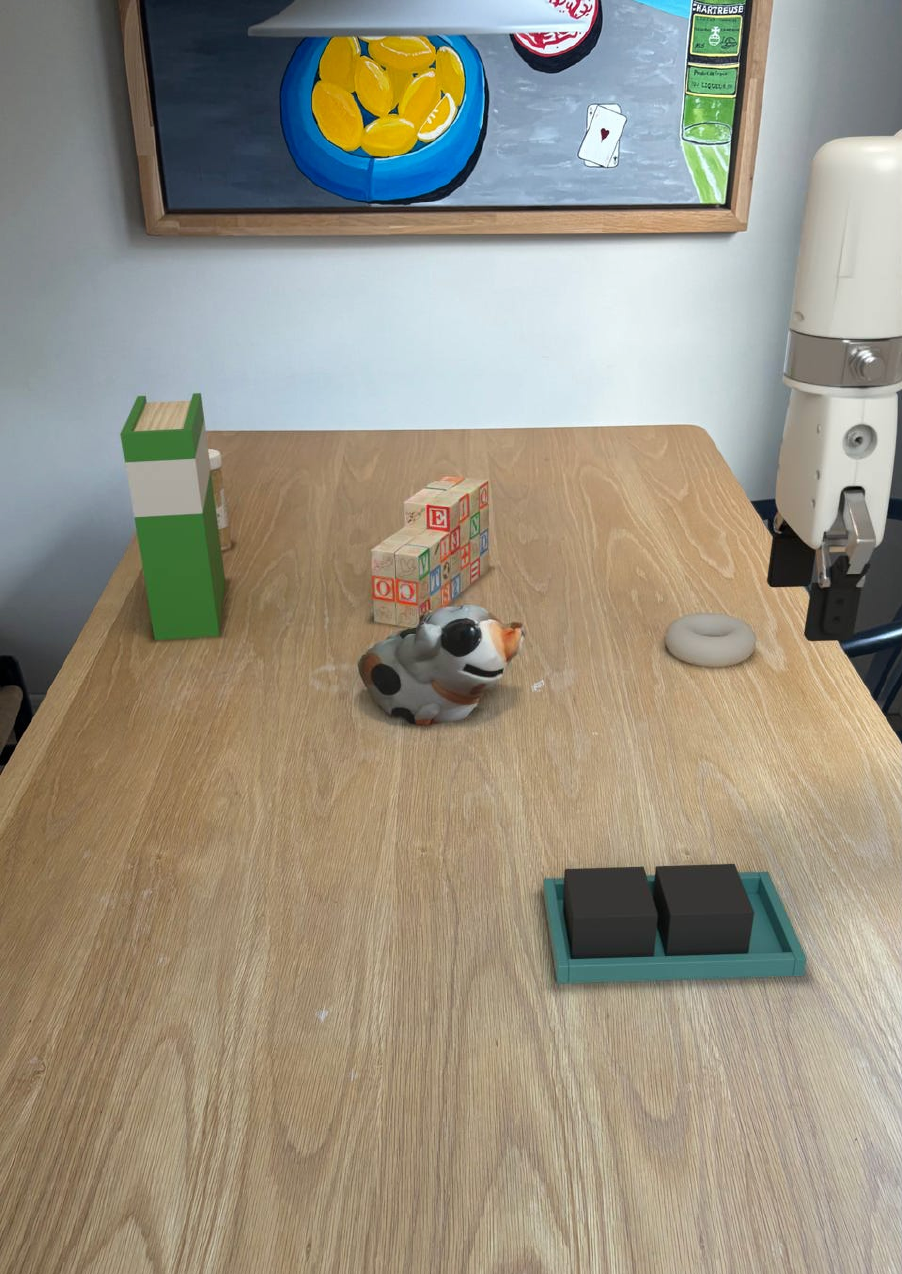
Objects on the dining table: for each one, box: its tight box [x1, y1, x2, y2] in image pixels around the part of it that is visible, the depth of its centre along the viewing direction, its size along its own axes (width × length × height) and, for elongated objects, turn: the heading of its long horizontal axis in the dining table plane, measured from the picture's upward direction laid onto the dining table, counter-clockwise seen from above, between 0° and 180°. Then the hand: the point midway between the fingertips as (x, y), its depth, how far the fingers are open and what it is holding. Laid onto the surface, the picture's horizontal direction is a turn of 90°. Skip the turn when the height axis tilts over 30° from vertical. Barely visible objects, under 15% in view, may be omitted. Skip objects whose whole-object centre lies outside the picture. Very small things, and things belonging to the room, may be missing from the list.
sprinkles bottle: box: [208, 448, 232, 552], centre depth 158 cm, size 5×5×14 cm
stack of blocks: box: [370, 475, 490, 629], centre depth 142 cm, size 21×6×12 cm, turn 156°
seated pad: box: [563, 866, 658, 959], centre depth 85 cm, size 6×6×4 cm
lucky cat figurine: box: [357, 603, 527, 727], centre depth 116 cm, size 15×12×14 cm
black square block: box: [653, 863, 754, 956], centre depth 85 cm, size 6×6×4 cm
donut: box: [664, 612, 757, 668], centre depth 128 cm, size 10×4×10 cm
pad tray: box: [542, 871, 808, 984], centre depth 86 cm, size 18×11×2 cm, turn 91°
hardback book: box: [120, 392, 226, 641], centre depth 136 cm, size 18×7×24 cm, turn 7°
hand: (807, 610), depth 82 cm, fingers open, 9 cm apart
